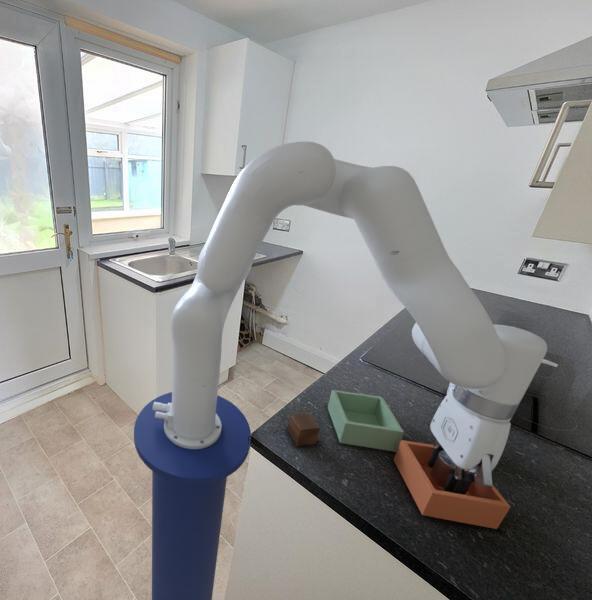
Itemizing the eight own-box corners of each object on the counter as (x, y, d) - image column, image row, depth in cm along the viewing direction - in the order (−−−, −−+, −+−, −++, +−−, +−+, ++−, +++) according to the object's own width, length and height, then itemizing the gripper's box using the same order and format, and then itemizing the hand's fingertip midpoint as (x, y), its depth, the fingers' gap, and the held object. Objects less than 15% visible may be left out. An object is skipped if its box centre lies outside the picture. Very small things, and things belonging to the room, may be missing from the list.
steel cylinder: (438, 488, 56) (448, 468, 54) (425, 467, 60) (434, 448, 58) (465, 493, 55) (476, 473, 53) (450, 472, 59) (460, 452, 57)
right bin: (422, 515, 54) (432, 492, 52) (393, 460, 64) (401, 439, 62) (497, 529, 52) (510, 506, 50) (455, 470, 63) (464, 449, 61)
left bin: (339, 442, 68) (345, 423, 66) (327, 407, 79) (332, 389, 77) (396, 452, 66) (404, 432, 64) (376, 414, 77) (382, 396, 75)
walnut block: (296, 446, 67) (300, 429, 65) (287, 430, 71) (290, 414, 69) (315, 444, 67) (320, 427, 66) (305, 428, 72) (309, 413, 70)
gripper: (430, 367, 59) (402, 441, 66) (495, 433, 43) (449, 521, 50) (474, 372, 58) (441, 447, 64) (557, 442, 42) (502, 531, 49)
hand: (445, 478), depth 57 cm, fingers closed on steel cylinder, 4 cm apart
